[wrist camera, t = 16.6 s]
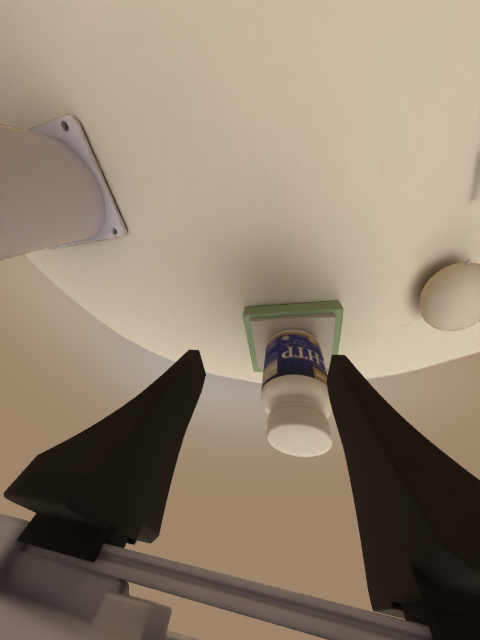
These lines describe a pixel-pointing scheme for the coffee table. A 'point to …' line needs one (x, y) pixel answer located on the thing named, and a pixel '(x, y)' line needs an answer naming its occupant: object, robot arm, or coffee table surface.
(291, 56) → the coffee table surface
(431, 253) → the coffee table surface
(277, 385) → the pill bottle
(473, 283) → the egg
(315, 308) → the scale
